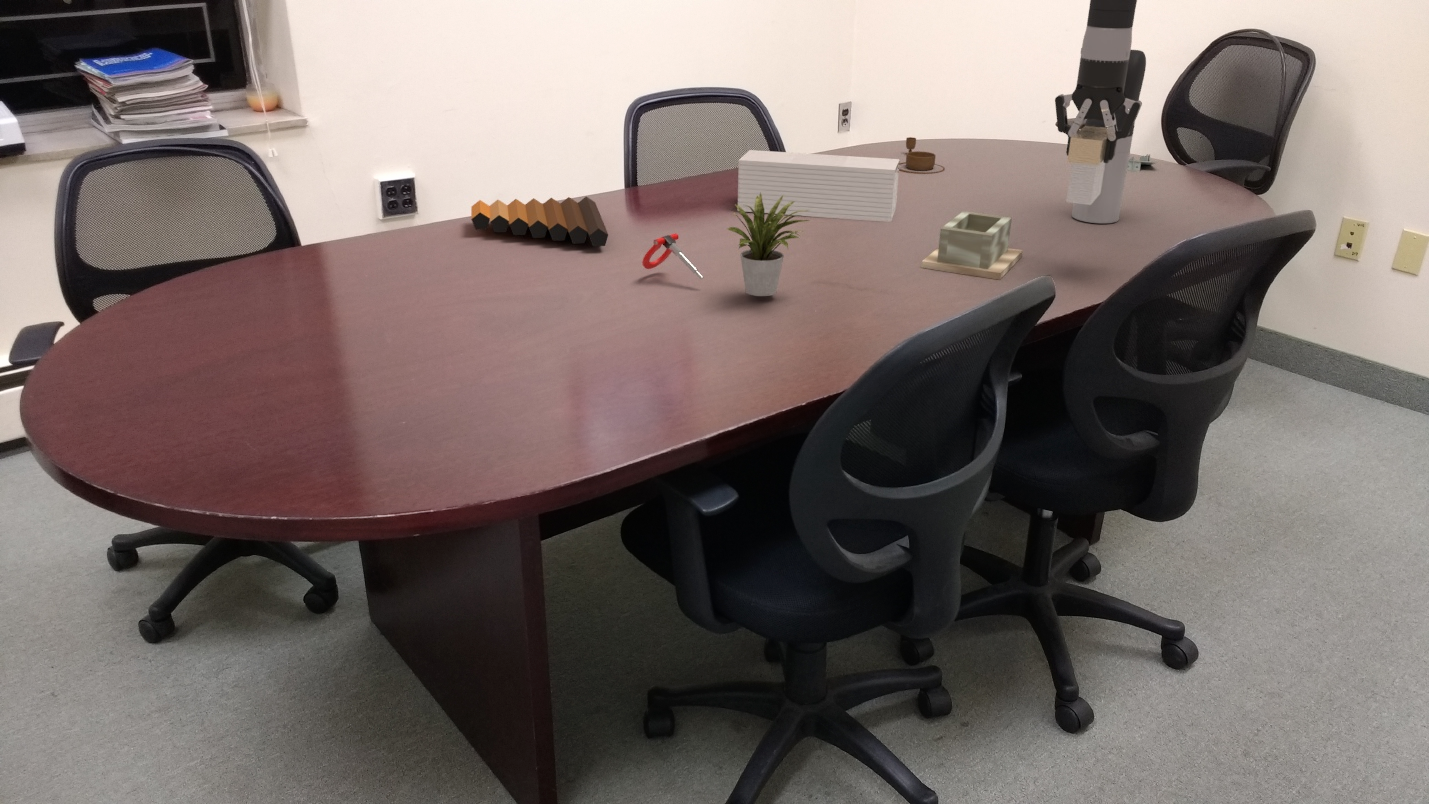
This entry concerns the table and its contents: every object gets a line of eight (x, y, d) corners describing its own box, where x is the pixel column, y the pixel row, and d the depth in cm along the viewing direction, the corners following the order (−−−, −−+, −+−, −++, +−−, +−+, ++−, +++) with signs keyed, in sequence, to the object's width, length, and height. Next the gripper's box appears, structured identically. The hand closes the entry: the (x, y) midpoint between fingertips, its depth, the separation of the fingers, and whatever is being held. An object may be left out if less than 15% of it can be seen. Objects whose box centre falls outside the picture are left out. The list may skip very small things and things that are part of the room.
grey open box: (947, 245, 208) (951, 208, 205) (1021, 256, 202) (1027, 218, 199) (921, 267, 195) (924, 227, 192) (999, 279, 189) (1004, 239, 186)
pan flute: (608, 245, 205) (595, 212, 227) (608, 228, 203) (594, 196, 226) (471, 251, 200) (472, 216, 222) (470, 233, 199) (470, 200, 221)
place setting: (875, 174, 266) (877, 149, 264) (903, 159, 282) (905, 136, 280) (945, 183, 258) (948, 158, 256) (970, 167, 275) (973, 144, 272)
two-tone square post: (1075, 188, 194) (1085, 125, 190) (1104, 192, 192) (1115, 128, 188) (1061, 203, 185) (1070, 137, 180) (1091, 207, 182) (1102, 140, 178)
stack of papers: (895, 210, 233) (899, 159, 229) (890, 222, 224) (895, 169, 219) (748, 199, 240) (749, 149, 236) (737, 211, 231) (738, 159, 226)
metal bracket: (1168, 154, 260) (1102, 151, 263) (1165, 179, 261) (1099, 175, 263) (1153, 159, 274) (1091, 156, 277) (1151, 183, 275) (1089, 180, 277)
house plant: (775, 313, 172) (779, 211, 165) (701, 297, 178) (702, 198, 171) (817, 289, 183) (823, 192, 176) (745, 275, 189) (748, 181, 183)
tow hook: (661, 260, 195) (678, 230, 190) (698, 300, 192) (716, 271, 187) (635, 269, 190) (651, 238, 185) (673, 310, 187) (690, 280, 182)
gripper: (1154, 56, 179) (1136, 161, 186) (1064, 50, 185) (1050, 152, 192) (1147, 61, 173) (1129, 169, 180) (1055, 55, 179) (1041, 160, 186)
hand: (1089, 160), depth 186 cm, fingers closed on two-tone square post, 5 cm apart
